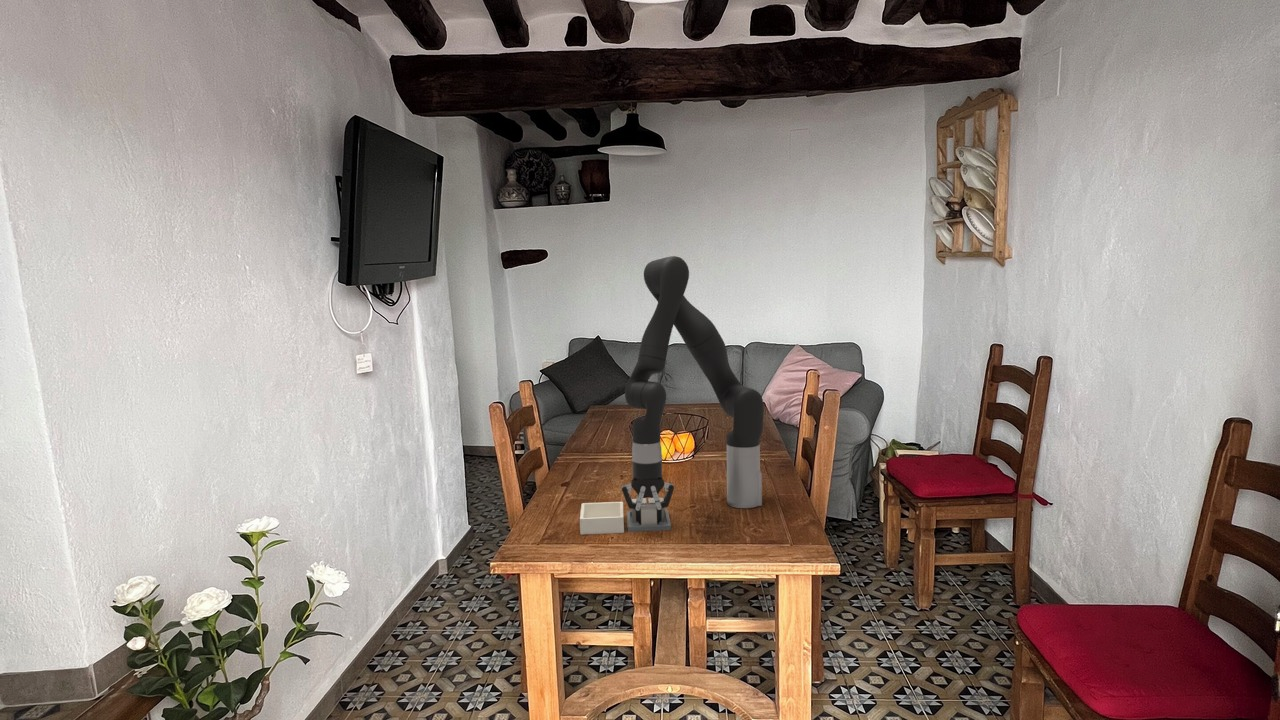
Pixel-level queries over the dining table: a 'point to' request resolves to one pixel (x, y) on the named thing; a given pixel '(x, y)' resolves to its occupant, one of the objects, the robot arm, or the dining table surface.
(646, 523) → the stone
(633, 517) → the stone
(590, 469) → the dining table surface
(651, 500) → the stone
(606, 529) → the cream dish
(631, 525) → the slate tray
